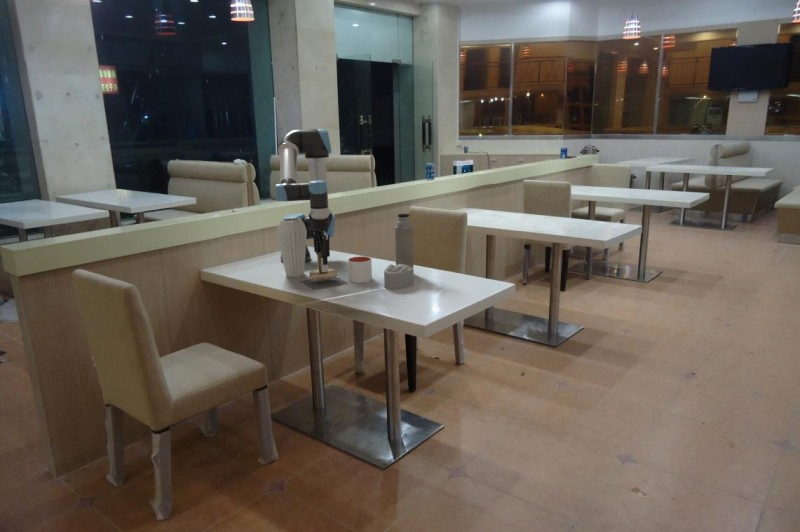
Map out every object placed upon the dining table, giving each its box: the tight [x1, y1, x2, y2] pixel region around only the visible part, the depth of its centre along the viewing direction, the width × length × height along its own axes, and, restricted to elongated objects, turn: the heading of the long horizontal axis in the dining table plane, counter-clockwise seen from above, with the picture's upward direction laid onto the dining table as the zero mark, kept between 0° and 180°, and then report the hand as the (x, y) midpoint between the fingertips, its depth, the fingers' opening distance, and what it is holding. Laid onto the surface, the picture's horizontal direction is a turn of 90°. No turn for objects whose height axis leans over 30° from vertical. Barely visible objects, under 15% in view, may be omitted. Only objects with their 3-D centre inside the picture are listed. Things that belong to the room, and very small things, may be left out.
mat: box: [299, 276, 349, 291], centre depth 246 cm, size 16×16×1 cm
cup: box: [347, 256, 373, 284], centre depth 247 cm, size 10×10×10 cm
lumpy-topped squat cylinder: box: [383, 263, 414, 291], centre depth 240 cm, size 10×13×9 cm
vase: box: [276, 218, 307, 278], centre depth 256 cm, size 13×13×26 cm
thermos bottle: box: [394, 213, 415, 276], centre depth 253 cm, size 8×8×28 cm
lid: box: [308, 252, 338, 280], centre depth 244 cm, size 12×12×10 cm
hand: (323, 270), depth 245 cm, fingers closed on lid, 4 cm apart
